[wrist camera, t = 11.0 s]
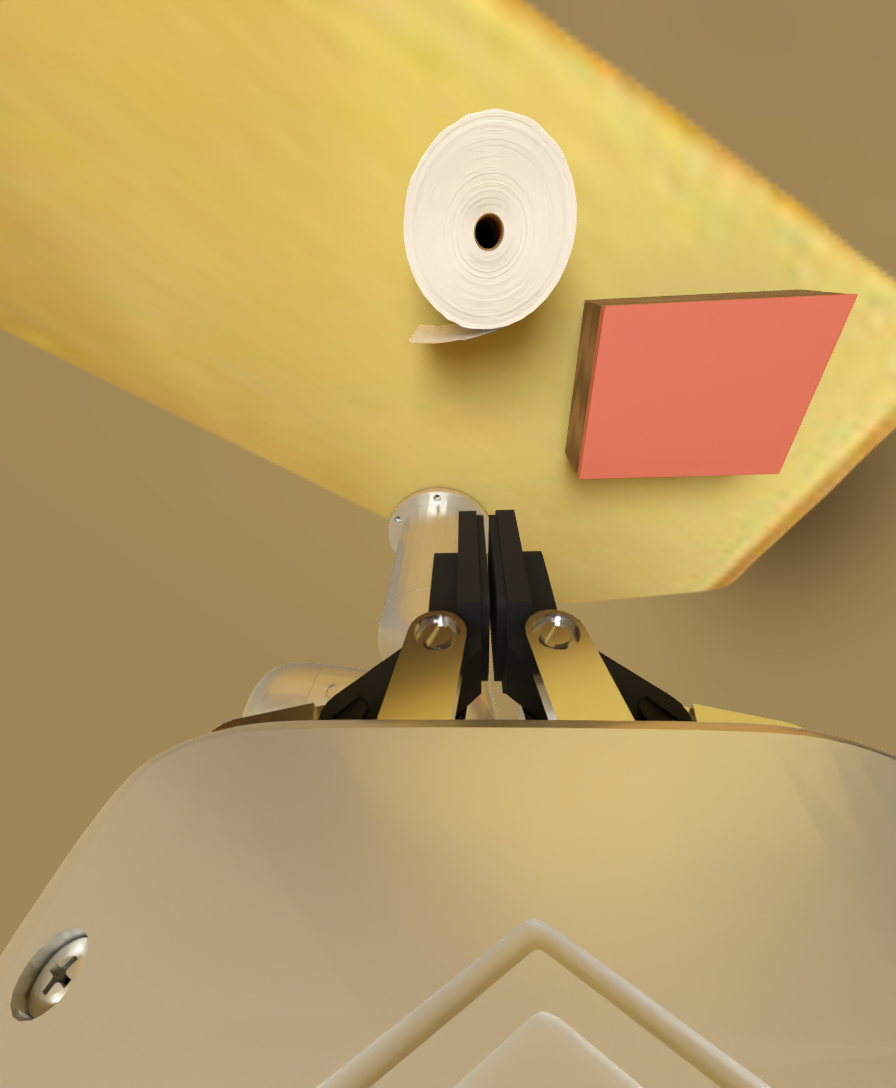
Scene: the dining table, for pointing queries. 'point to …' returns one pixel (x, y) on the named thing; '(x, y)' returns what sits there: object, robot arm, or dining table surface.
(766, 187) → the dining table surface
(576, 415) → the walnut box
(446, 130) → the toilet tissue
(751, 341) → the lid
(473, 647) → the robot arm
